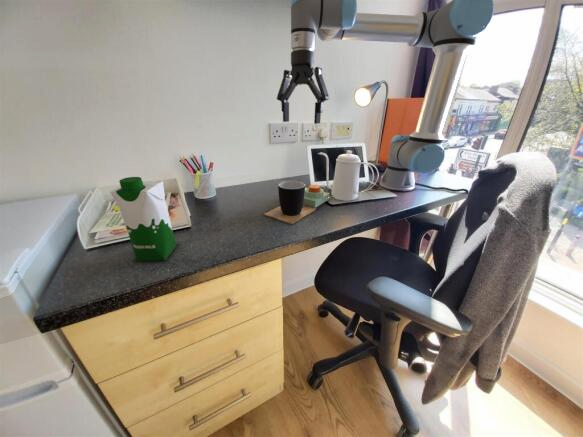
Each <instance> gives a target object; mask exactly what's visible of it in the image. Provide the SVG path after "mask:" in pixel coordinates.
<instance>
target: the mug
mask: <svg viewBox="0 0 583 437" xmlns="http://www.w3.org/2000/svg"><path fill="white" fill-rule="evenodd" d="M277 185H278V186H277V189H278V190H277V191H278V192H277V194H278V202H279V206H280V207H281V211H282V213H283V214H285V215H288V216H295V215H298V214H300V213H301V211H302V207H303V202H304V195H305V188H306V184H305V183H304V182H302V181H298V180H285V181H281V182H279V183H278V184H277Z"/></svg>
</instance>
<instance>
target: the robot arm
mask: <svg viewBox="0 0 583 437" xmlns="http://www.w3.org/2000/svg"><path fill="white" fill-rule="evenodd" d="M357 10H358V1H357V0H291V1H290V50H291V52H290V65H291V70H290V69H289V70H288V69H284V70H283V76H282V80H281V83H280V86H279V89H278V93H277V96H276V100H277V101H280V103H281V104H280V105H281V112H282V122H284V123H289V122H290V102H289V99H290V97H291V96H292V94H293V92H294V90H295V89H296V87H298V86H302V85H307V86H308V88H309V89H310V91H311V92H312V94H313V97H314V98H315V100H316V102H314V119H313V120H314V124H315V125H317V124H318V125H319V124H321V116H322V114H323V112H324V102H326V101H329V100H330V95H329V92H328V89H327V87H326V84H325V83H326V82H325V80H324V77H323V68H322V67H320V66H315V68H314V64H315V52H314V50H315V46H316V43H315V42H316V36H317V37H318V39H319V40H320V41H322V42H324V43H325V42H329V41H330V42H331V41H333V40H336V41H337V40H339V41H341V40H342V41H343V40H345V41H362V42H363V41H364V42H385V43H386V42H387V43H404V44H405V43H407V46H408V47H414V48H415V47H416V48H427V49H428V48H429V49H432V50H431V51H433V53H434V55H435V56H434V61H433V64H432V68H431V72H430V75H429V79H428V83H427V86H426V89H425V94H424V98H423V101H422V105H421V109H420V112H419V116H418V119H417V123H416V127H415V130H414V131H413V132H412V133H410V134H400V135H399V134H398V135H397V134H396V135H393V137H392V138H391V141H390V143H389V152H388V156H387V157H388V158H387V162H386V168H385V170H384V173H383V174H382V175H381V176H380V177H381V178H380V180H379V187H381V188H383V189H386V190H390V191H394V192H410V191H413V190H415V186H418V187H424V188H426V189H430V190H437V191H438V190H444V191H449V192H454V193H456V192H465V193H466V194H469V193H468V191H469V190H468V189H467V188H457V189H454V188H449V187H446V186H445V187H444V186H437V187H436V186H431V185H428V184H423V183H420V182H416V180H415V174H419V175H429V174H432V173H433V172H435V171H437V170H438V169H439V168H440V167H442V164H443V163H444V162H445V159H446V150H444V149H445V148H444V147H443V144H444V140H445V137H444V135H442V131H443V128H444V125H445V121H446V118H447V116H448V112H449V109H450V107H451V102H452V99H453V96H454V93H455V90H456V87H457V83H458V80H459V77H460V74H461V70H462V68H463V65H464V61H465V59H466V55H467V54H468V53H470V52H471V51H472V50H474V47H475V45H476V42H477V39H478V36H479V35H481V34H482V33H483V32H484V31H485V30H486V29H487V28H488V27H489V25H490V23H491V21H492V19H493V16H494V13H495V12H494V11H495V4H494V0H451V1H449V2H448V3H446V4H444V5H442V6H440V7H438V8H436V9H434V10H431V11H424V12H423V11H418V12H416V14H414V15H409V14H408V15H407V14H389V13H388V14H385V13H370V12H369V13H366V12H357ZM313 76H314V77H315V80H314V78H313ZM315 81H316V83H315ZM316 84H317V85H316Z"/></svg>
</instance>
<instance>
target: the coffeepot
mask: <svg viewBox="0 0 583 437" xmlns="http://www.w3.org/2000/svg"><path fill="white" fill-rule="evenodd" d="M317 155H321V156H324V157H325V164H326V166H325V167H326V168H325V169H326V172H325V173H326V177H325V178H326V187H328V188H329V189H330V190H331V193H330V195H331V196H332V195H333V196H332V197H333V198H334V199H335V200H338V201H345V202H349V201H355V200H356V199H357V198H358V197H359V196H360V195H359V194H363V193H365V192H368V191H370V190H371V189H372V188H373V187H374V186H375V185H376V184H377V182H378V180H379V176H380V172H379V169H378V168H377V166H376V165H374V164H373V163H371V162H368V161H367V162H366V161H363V162H361V158H360V156H359V155H358V154H353V150H349V149H348V150H346V153H342V154H339V155H338V156H337V158H336V159H335V160H336V161H335V168H334V175H333V181H332V186H331V184H330V183H329V182H330V181H329V176H330V175H329V172H330V171H329V170H330V169H329V163H330V162H329V156H328V155H327V153H325V152H322V151H321V152H318V153H317ZM361 165H366V166H367V167H369V168H370V171H371V172H372V179H371V183H370V185H368V187H366V188H365V189H364V190H361V191H359V188H360V187H359V186H360V172H361V170H360V169H361ZM373 168H374V169H375V170H376V173H377V176H376V180H375V182H374V178H375V173H374V169H373ZM373 182H374V184H373ZM372 184H373V185H372ZM371 185H372V186H371Z"/></svg>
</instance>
